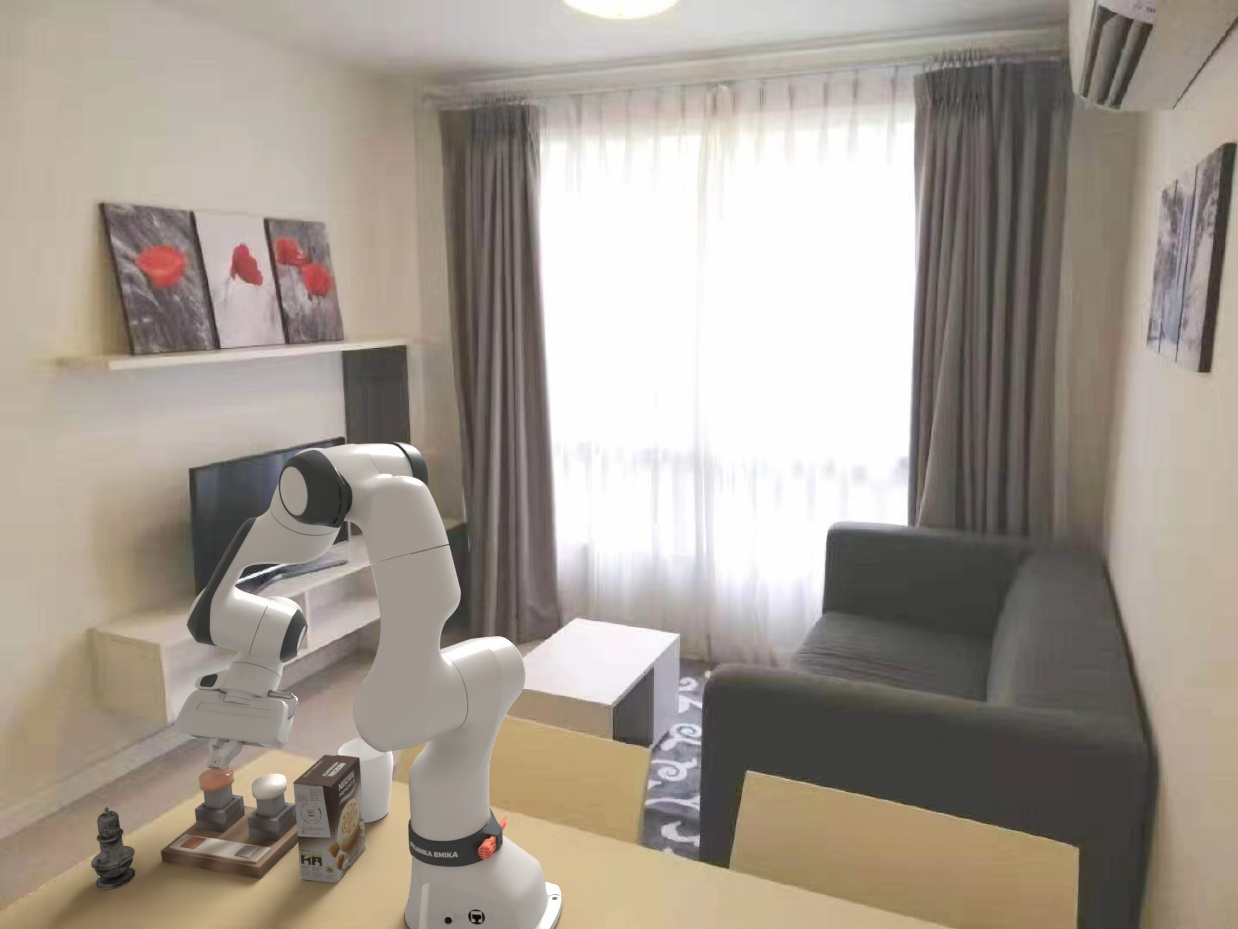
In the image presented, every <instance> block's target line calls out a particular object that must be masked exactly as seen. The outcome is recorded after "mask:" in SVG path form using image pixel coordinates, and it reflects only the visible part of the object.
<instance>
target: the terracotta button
mask: <svg viewBox="0 0 1238 929" xmlns="http://www.w3.org/2000/svg"><path fill="white" fill-rule="evenodd" d="M234 782H235V774H234V769H233V768H232V767H229V766H228V769H227V770H226V771H222V770H215V769H210V768H208V769H207V770H206V771H204V772H202V773H201V774H200V775H199V776H198V784H199V789H200V790H201V791H202V792H203V799H204V802H205V807H206V808H212V809H219V810H221V809H222V808H224V807H225V806H226V805H227V804H229V803H230V802H231V801H232V800H233V795H234V794H233V786H232V785H233V783H234Z"/></svg>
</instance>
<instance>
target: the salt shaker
mask: <svg viewBox="0 0 1238 929" xmlns="http://www.w3.org/2000/svg"><path fill="white" fill-rule="evenodd" d="M120 823H121V822H120V816H119V813H118V812H117V811H115V810H110V808H109V807H107V806H106V807H105V808H104V809H103V812H102V813H100V814H99V815H98V816H97V819H96V824H97V828H98V829H97V831H98V834H97V836H96V839H95V840H96V841H97V842H98V843H99V848H100V850H99V851H100V852H99V853H97V854H96V855H95V856H94V857H93V859H92V860H91V863H90V866H91V868H92V869H93V870H94V872H95V873H96V875H98V876H99V877H98V878H97V880H96V881H95V886H96V887H97V888H98V889H100V890H112V889H117V888H119V887H122V886H124V885H126V884H128V883H130V881H132V880H133V879H134V877H136V870H135V868H133V867H131V866H132V864H133V861H134V856H135V855H136V850H135V849H134V848H133V847H132V846H128V845H125V844H124V843H123V835H124V829H123V828H121V824H120Z"/></svg>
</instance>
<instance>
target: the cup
mask: <svg viewBox="0 0 1238 929" xmlns="http://www.w3.org/2000/svg"><path fill="white" fill-rule="evenodd" d="M337 751H338V752H337V753H338V754H337V755H342V756H351V757H359V758H360V772H361V787H362V802H363V817H364V824H366V823H367V824H368V823H373V822H376V821H379V820H381V819H383V818H384V817H385V816H386V815H387V814H388V813H389V811H390V806H391V797H392V796H391V794H392V783H393V781H392V780H393V772H394V770H393V769H394V756H393V751H390V752H379V751H377V750H375V749H373V748H372V747H370V746H369V745H368V744H367V743H366V742H365V741H364V740H363V739H362V738H361V736H360V737H357V738H354V739H351V740H349V741H346V742H345V743H343V744H342V745H341V746H340V747H339V749H338V750H337Z"/></svg>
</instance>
